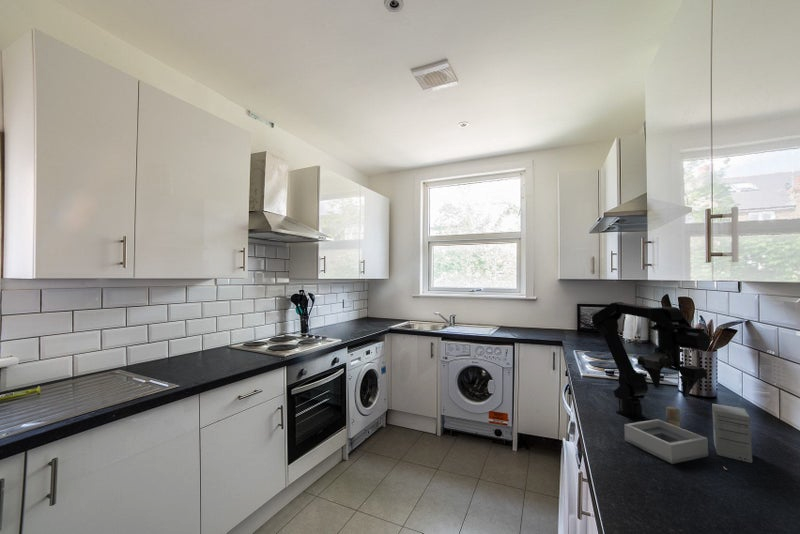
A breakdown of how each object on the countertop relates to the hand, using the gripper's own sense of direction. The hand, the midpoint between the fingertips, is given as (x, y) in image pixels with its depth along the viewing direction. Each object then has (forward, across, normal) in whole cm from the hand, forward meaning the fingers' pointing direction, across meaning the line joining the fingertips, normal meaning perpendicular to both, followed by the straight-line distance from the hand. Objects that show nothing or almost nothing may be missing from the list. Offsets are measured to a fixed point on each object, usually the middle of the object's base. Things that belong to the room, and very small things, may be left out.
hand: (670, 392), depth 111 cm
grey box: (+13, +8, -13) cm, 20 cm away
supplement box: (+13, +15, +2) cm, 20 cm away
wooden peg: (+13, -1, +2) cm, 13 cm away
